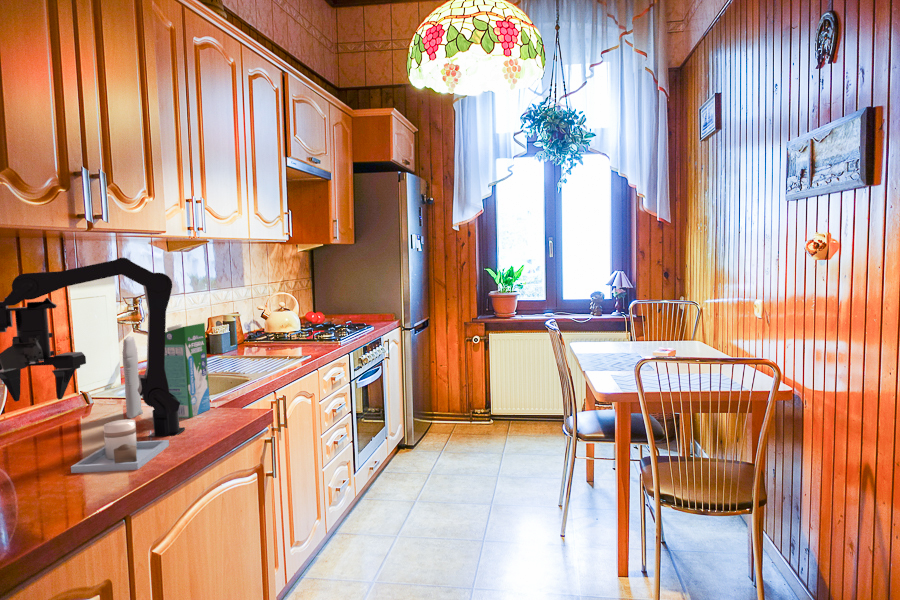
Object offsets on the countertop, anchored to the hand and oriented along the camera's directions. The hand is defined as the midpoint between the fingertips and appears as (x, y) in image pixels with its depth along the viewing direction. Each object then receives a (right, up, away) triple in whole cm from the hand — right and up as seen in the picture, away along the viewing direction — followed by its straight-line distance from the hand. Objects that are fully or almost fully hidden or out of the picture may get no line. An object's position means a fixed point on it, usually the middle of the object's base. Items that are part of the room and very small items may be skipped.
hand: (38, 400), depth 129 cm
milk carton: (+17, -10, +34) cm, 39 cm away
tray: (+21, -12, -4) cm, 25 cm away
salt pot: (+24, -12, -8) cm, 28 cm away
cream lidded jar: (+20, -12, -2) cm, 23 cm away
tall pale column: (+2, -10, +35) cm, 37 cm away
